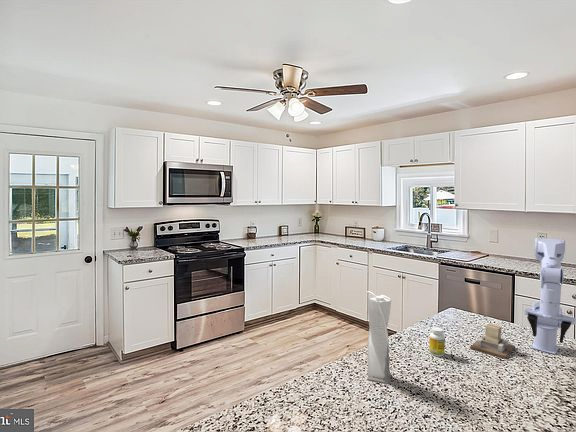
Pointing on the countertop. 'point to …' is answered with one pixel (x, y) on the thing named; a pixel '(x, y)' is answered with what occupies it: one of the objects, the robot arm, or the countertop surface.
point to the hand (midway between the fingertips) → (547, 338)
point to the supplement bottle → (437, 342)
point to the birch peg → (493, 333)
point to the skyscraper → (378, 339)
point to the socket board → (493, 347)
